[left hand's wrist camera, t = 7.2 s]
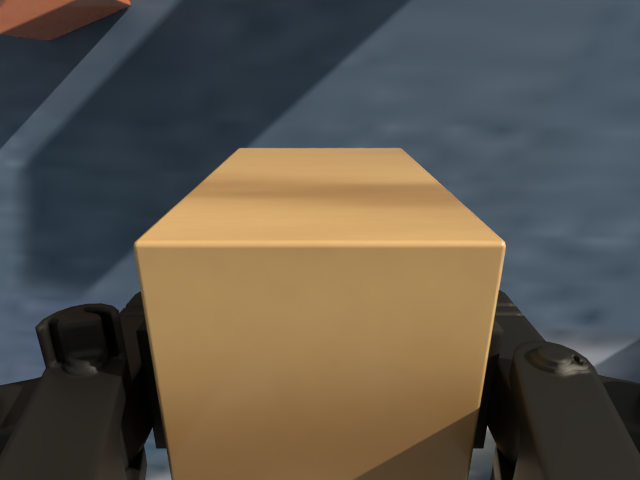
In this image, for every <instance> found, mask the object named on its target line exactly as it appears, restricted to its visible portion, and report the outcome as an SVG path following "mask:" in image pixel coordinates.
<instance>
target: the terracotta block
mask: <svg viewBox="0 0 640 480" xmlns="http://www.w3.org/2000/svg"><path fill="white" fill-rule="evenodd" d="M129 6H131V4H130V1H129V0H0V35H8V36H16V37H24V38H31V39H39V40H47V41H51V40H53V39H55V38H58V37H60V36H62V35H64V34H67V33H69V32H71V31H74V30H76V29H78V28H81V27H83V26H85V25H88V24H90V23H92V22H94V21H97V20H99V19H101V18H104V17H106V16H108V15H111V14H113V13H115V12H118V11H120V10H122V9H124V8H127V7H129Z"/></svg>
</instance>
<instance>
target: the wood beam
mask: <svg viewBox="0 0 640 480" xmlns="http://www.w3.org/2000/svg"><path fill="white" fill-rule="evenodd" d="M505 249H506V245H505V242H504V241H503V240H502V239H501V238H500V237H499V236H498V235H497V234H495V233H494V232H493V231H492V230H491V229H490V228H489V227H488V226H487V225H485V224H484V223H483V222H482V221H481V220H480V219H479V218H478V217H477V216H475V215H474V214H473V213H472V212H471V211H470V210H469V209H468V208H467V207H465V206H464V205H463V204H462V203H461V202H460V201H459V200H458V199H457V198H456V197H454V196H453V195H452V194H451V193H450V192H449V191H448V190H447V189H446V188H444V187H443V186H442V185H441V184H440V183H439V182H438V181H437V180H436V179H434V178H433V177H432V176H431V175H430V174H429V173H428V172H427V171H426V170H424V169H423V168H422V167H421V166H420V165H419V164H418V163H417V162H416V161H414V160H413V159H412V158H411V157H410V156H409V155H408V154H407V153H406V152H404V151H403V150H402V149H400V148H239V149H238V150H236V151H235V152H234V153H233V154H232V155H231V156H230V157H229V158H228V159H226V160H225V161H224V162H223V163H222V164H221V165H220V166H219V167H217V168H216V169H215V170H214V171H213V172H212V173H211V174H210V175H209V176H207V177H206V178H205V179H204V180H203V181H202V182H201V183H200V184H199V185H197V186H196V187H195V188H194V189H193V190H192V191H191V192H190V193H189V194H187V195H186V196H185V197H184V198H183V199H182V200H181V201H180V202H178V203H177V204H176V205H175V206H174V207H173V208H172V209H171V210H170V211H168V212H167V213H166V214H165V215H164V216H163V217H162V218H161V219H160V220H158V221H157V222H156V223H155V224H154V225H153V226H152V227H151V228H150V229H148V230H147V231H146V232H145V233H144V234H143V235H142V236H141V237H140V238H138V239H137V240H136V241H135V243H134V253H135V259H136V265H137V271H138V277H139V283H140V289H141V295H142V301H143V308H144V314H145V320H146V326H147V332H148V338H149V344H150V350H151V356H152V363H153V369H154V375H155V381H156V387H157V393H158V399H159V405H160V411H161V418H162V424H163V430H164V436H165V442H166V448H167V454H168V460H169V466H170V473H171V479H172V480H468V476H469V470H470V463H471V457H472V451H473V445H474V439H475V433H476V427H477V420H478V414H479V408H480V402H481V396H482V390H483V384H484V378H485V371H486V365H487V359H488V353H489V347H490V341H491V335H492V328H493V322H494V316H495V310H496V304H497V298H498V292H499V286H500V279H501V273H502V267H503V261H504V255H505Z"/></svg>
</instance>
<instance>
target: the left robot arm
mask: <svg viewBox="0 0 640 480" xmlns="http://www.w3.org/2000/svg"><path fill="white" fill-rule="evenodd" d="M35 329H36V333H37V336H38V340H39V344H40V347H41V351H42V355H43V359H44V362H45V366H46V369H45V371H44V373H43V375H42V377H39V378H35V379H31V380H26V381H20V382H15V383H10V384H5V385H0V480H145V477H146V469H147V461H146V454H145V449H144V444H145V442H146V440H147V438H148V436H149V434H150V431H151V429H152V427H153V432H154V437H155V443H156V448H166V442H165V436H164V430H163V424H162V418H161V411H160V405H159V399H158V393H157V387H156V381H155V375H154V369H153V363H152V356H151V350H150V344H149V338H148V332H147V326H146V320H145V314H144V308H143V301H142V295H141V291H140V292H139V293H137V294H135V295H134V297H133V298H132V299H131V300H130V301H129V303H128V304H127V305H126V308H124V309H123V310H122V311H121V312H120V313H119V310H117V309H116V308H115V307H113V306H111V305H106V304H101V303H100V304H84V305H78V306H73V307H70V308H67V309H64V310H61V311H58V312H56V313H54V314H52V315H50V316H48V317H47V318H45V319H43V320H42V321H41V322H40V323H39V324H38V325H37V326H36V327H35ZM487 426H488V428H489V430H490V432H491V434H492V436H493V438H494V440H495V442H496V449H495V454H494V459H493V465H492V470H491V475H490V480H640V383H635V382H630V381H625V380H620V379H614V378H609V377H605V376H601V375H598V374H597V372H596V370H595V368H594V367H593V365H592V364H591V363H590V362H589V361H588V360H587V358H585V357H584V356H582V355H581V354H579V353H578V352H576V351H574V350H572V349H570V348H567V347H565V346H562V345H560V344H555V343H551V342H547V341H545V340H544V339H543V338H542V336H541V335H540V334H539V333H538V332H537V331H536V329H535V328H534V327H533V326H532V325H531V323H530V322H529V321H528V320H527V319H526V318H525V316H522V313H521V312H520V310H519V309H518V308H517V307H516V306H514V303H513V302H512V301H511V300H510V299H509V298H508V296H507V295H506V294H505V293H504V292H502V291H500V290H499V292H498V298H497V304H496V310H495V316H494V322H493V328H492V335H491V341H490V347H489V353H488V359H487V365H486V371H485V378H484V384H483V390H482V396H481V402H480V408H479V414H478V420H477V427H476V433H475V439H474V445H473V448H483V447H484V441H485V436H486V430H487Z"/></svg>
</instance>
